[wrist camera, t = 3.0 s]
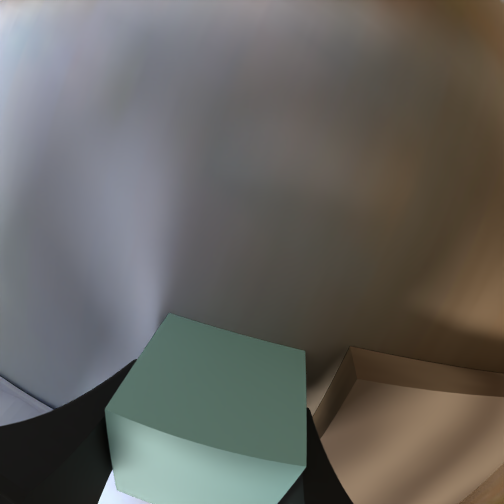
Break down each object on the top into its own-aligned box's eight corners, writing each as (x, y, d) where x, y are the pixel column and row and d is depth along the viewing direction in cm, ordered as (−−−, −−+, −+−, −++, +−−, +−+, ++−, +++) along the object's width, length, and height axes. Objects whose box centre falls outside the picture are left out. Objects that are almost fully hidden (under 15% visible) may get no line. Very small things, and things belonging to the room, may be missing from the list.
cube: (158, 403, 13) (116, 490, 8) (168, 312, 11) (104, 408, 7) (267, 433, 13) (254, 529, 8) (304, 350, 11) (306, 466, 6)
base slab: (261, 496, 15) (258, 521, 13) (350, 346, 11) (357, 378, 9) (427, 504, 14) (431, 523, 13) (542, 378, 10) (557, 398, 9)
